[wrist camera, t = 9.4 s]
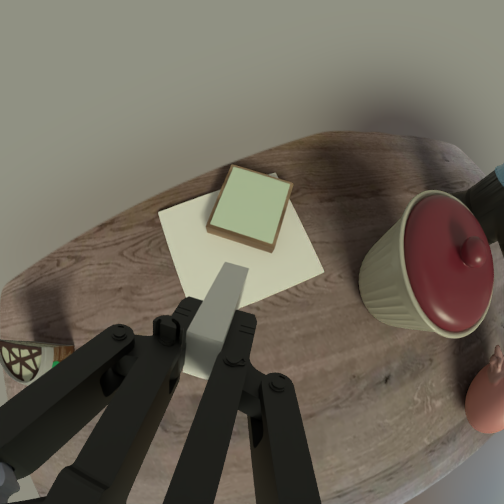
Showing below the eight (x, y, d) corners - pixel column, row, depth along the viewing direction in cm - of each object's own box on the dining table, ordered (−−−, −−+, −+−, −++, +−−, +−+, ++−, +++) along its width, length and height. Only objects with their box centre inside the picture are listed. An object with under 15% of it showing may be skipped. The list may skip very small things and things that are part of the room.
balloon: (482, 327, 40) (535, 319, 25) (492, 398, 35) (539, 402, 20) (442, 366, 37) (503, 368, 22) (453, 440, 32) (503, 454, 18)
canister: (325, 245, 41) (397, 176, 21) (407, 225, 44) (484, 169, 24) (357, 356, 37) (455, 368, 17) (436, 317, 39) (527, 299, 19)
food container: (32, 374, 31) (-4, 379, 21) (29, 340, 32) (-8, 338, 23) (85, 383, 32) (50, 394, 22) (81, 346, 34) (44, 347, 24)
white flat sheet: (274, 174, 44) (275, 172, 44) (323, 272, 40) (324, 272, 39) (158, 213, 41) (158, 212, 40) (197, 324, 36) (196, 324, 36)
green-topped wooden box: (274, 248, 37) (294, 182, 40) (205, 225, 37) (231, 163, 40) (271, 253, 40) (290, 191, 43) (207, 232, 40) (231, 172, 43)
